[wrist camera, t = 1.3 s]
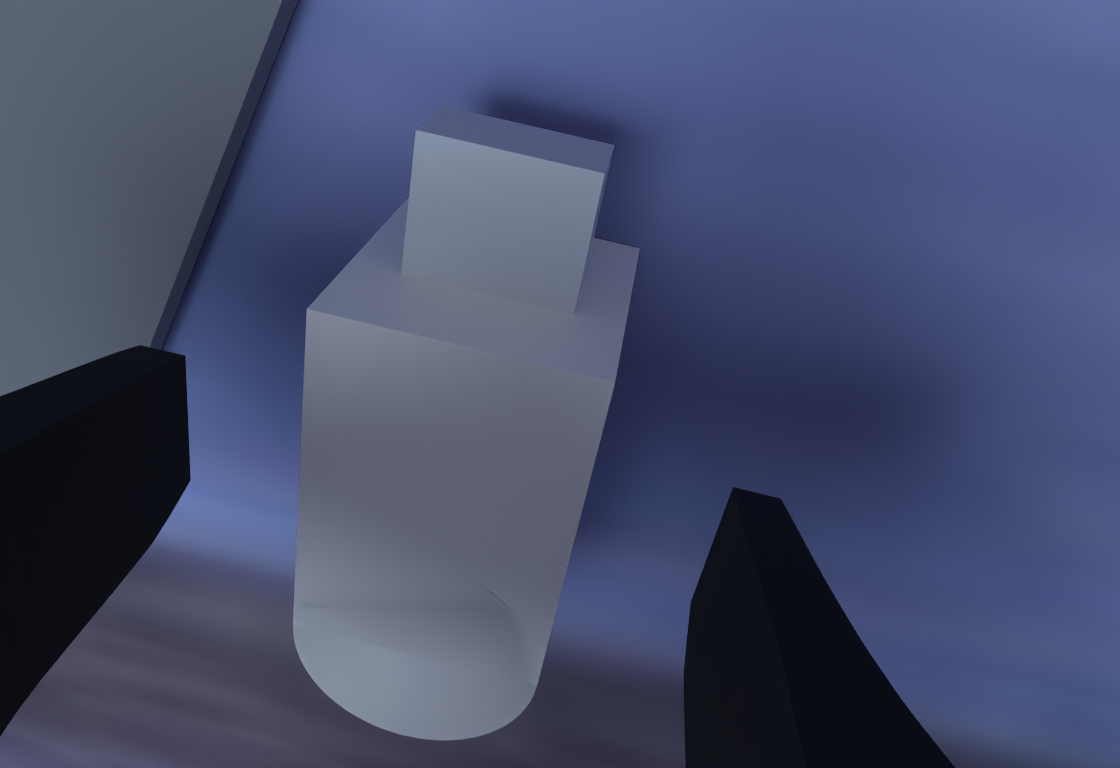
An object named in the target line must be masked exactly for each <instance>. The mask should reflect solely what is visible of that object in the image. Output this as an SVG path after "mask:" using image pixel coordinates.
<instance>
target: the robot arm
mask: <svg viewBox="0 0 1120 768" xmlns="http://www.w3.org/2000/svg"><path fill="white" fill-rule="evenodd" d="M189 482H190V457H189V433H188V410H187V386H186V362H185V356H184V355H180V354H175V353H171V352H167V351H163V350H159V349H155V348H150V347H146V346H142V345H138V346H135V347H132V348H128V349H125V350H122V351H119V352H116V353H113V354H110V355H108V356H105V357H102V358H99V359H97V360H94V361H91V362H89V363H86V364H83V365H81V366H78V367H75V368H73V369H70V370H68V371H65V372H62V373H60V374H57V375H55V376H52V377H50V378H47V379H44V380H42V381H39V382H36V383H34V384H31V385H29V386H26V387H23V388H21V389H18V390H15V391H13V392H10V393H8V394H5V395H2V396H0V736H1V735H2V733H3V732H4V730H5V729H6V727H7V726H8V724H9V723H10V721H11V720H12V718H13V717H14V715H15V714H16V712H17V711H18V709H19V708H20V707H21V705H22V704H23V703H24V701H25V700H26V699H27V697H28V696H29V695H30V694H31V692H32V691H33V690H34V688H35V687H36V686H37V684H38V683H39V682H40V680H41V679H42V678H43V677H44V675H45V674H46V673H47V672H48V670H49V669H50V668H51V667H52V666H53V664H54V663H55V662H56V661H57V660H58V658H59V657H60V656H61V655H62V653H63V652H64V651H65V650H66V649H67V647H68V646H69V645H70V644H71V643H72V641H73V640H74V639H75V638H76V636H77V635H78V634H79V633H80V632H81V630H82V629H83V628H84V627H85V626H86V624H87V623H88V622H89V621H90V619H91V618H92V617H93V616H94V615H95V613H96V612H97V611H98V610H99V609H100V607H101V606H102V605H103V604H104V603H105V601H106V600H107V599H108V598H109V596H110V595H111V594H112V593H113V592H114V590H115V589H116V588H117V587H118V585H119V584H120V583H121V582H122V580H123V579H124V578H125V577H126V576H127V574H128V573H129V572H130V571H131V569H132V568H133V567H134V566H135V564H136V563H137V562H138V561H139V559H140V558H141V557H142V556H143V554H144V553H145V552H146V551H147V549H148V548H149V547H150V545H151V544H152V543H153V541H154V540H155V538H156V537H157V535H158V533H159V532H160V530H161V529H162V527H163V525H164V524H165V522H166V521H167V519H168V518H169V516H170V514H171V513H172V511H173V509H174V508H175V506H176V504H177V502H178V501H179V499H180V497H181V496H182V494H183V492H184V490H185V489H186V487H187V485H188V484H189ZM684 716H685V757H686V768H955V767H954V766H953V765H952V763H951V762H950V761H949V760H948V758H947V757H946V756H945V755H944V753H943V752H942V751H941V750H940V748H939V747H938V746H937V745H936V743H935V742H934V741H933V740H932V738H931V737H930V736H929V735H928V733H927V732H926V731H925V730H924V728H923V727H922V726H921V725H920V723H919V722H918V721H917V720H916V718H915V717H914V715H913V714H912V713H911V711H910V710H909V709H908V707H907V706H906V705H905V703H904V702H903V701H902V699H901V698H900V697H899V695H898V694H897V692H896V691H895V690H894V688H893V687H892V685H891V684H890V682H889V681H888V679H887V678H886V676H885V675H884V674H883V672H882V671H881V669H880V668H879V666H878V665H877V663H876V662H875V660H874V659H873V658H872V656H871V655H870V653H869V652H868V650H867V648H866V647H865V645H864V644H863V642H862V641H861V639H860V638H859V636H858V634H857V633H856V631H855V629H854V628H853V626H852V624H851V623H850V621H849V619H848V618H847V616H846V614H845V613H844V611H843V609H842V608H841V606H840V604H839V603H838V601H837V599H836V598H835V596H834V594H833V593H832V591H831V589H830V587H829V586H828V584H827V582H826V580H825V579H824V577H823V575H822V573H821V571H820V570H819V568H818V566H817V564H816V562H815V561H814V559H813V557H812V555H811V553H810V552H809V550H808V548H807V546H806V544H805V542H804V540H803V539H802V537H801V535H800V533H799V531H798V529H797V527H796V525H795V524H794V522H793V520H792V518H791V516H790V514H789V513H788V511H787V509H786V507H785V505H784V504H783V502H782V500H781V499H780V498H776V497H772V496H767V495H763V494H759V493H755V492H751V491H747V490H742V489H738V488H734V487H733V489H732V492H731V495H730V497H729V500H728V503H727V505H726V508H725V511H724V514H723V516H722V519H721V522H720V524H719V527H718V530H717V533H716V535H715V538H714V541H713V544H712V546H711V549H710V552H709V554H708V557H707V560H706V563H705V565H704V568H703V571H702V573H701V576H700V579H699V582H698V584H697V587H696V590H695V592H694V595H693V598H692V601H691V606H690V615H689V625H688V634H687V644H686V655H685V666H684Z"/></svg>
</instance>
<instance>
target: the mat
mask: <svg viewBox="0 0 1120 768" xmlns="http://www.w3.org/2000/svg"><path fill="white" fill-rule="evenodd" d="M297 2H298V0H0V396H2V395H5V394H8V393H10V392H13V391H15V390H18V389H21V388H23V387H26V386H29V385H31V384H34V383H36V382H39V381H42V380H44V379H47V378H50V377H52V376H55V375H57V374H60V373H62V372H65V371H68V370H70V369H73V368H75V367H78V366H81V365H83V364H86V363H89V362H91V361H94V360H97V359H99V358H102V357H105V356H108V355H110V354H113V353H116V352H119V351H122V350H125V349H128V348H132V347H135V346H138V345H142V346H146V347H150V348H155V349H159V350H161V349H162V346H163V343H164V341H165V338H166V336H167V333H168V331H169V328H170V326H171V323H172V321H173V318H174V315H175V313H176V310H177V308H178V305H179V303H180V300H181V298H182V295H183V292H184V290H185V287H186V285H187V282H188V280H189V277H190V275H191V272H192V270H193V267H194V264H195V262H196V259H197V257H198V254H199V252H200V249H201V247H202V244H203V242H204V239H205V236H206V234H207V231H208V229H209V226H210V224H211V221H212V219H213V216H214V213H215V211H216V208H217V206H218V203H219V201H220V198H221V196H222V193H223V191H224V188H225V185H226V183H227V180H228V178H229V175H230V173H231V170H232V168H233V165H234V163H235V160H236V157H237V155H238V152H239V150H240V147H241V145H242V142H243V140H244V137H245V134H246V132H247V129H248V127H249V124H250V122H251V119H252V117H253V114H254V112H255V109H256V106H257V104H258V101H259V99H260V96H261V94H262V91H263V89H264V86H265V84H266V81H267V78H268V76H269V73H270V71H271V68H272V66H273V63H274V61H275V58H276V55H277V53H278V50H279V48H280V45H281V43H282V40H283V38H284V35H285V33H286V30H287V27H288V25H289V22H290V20H291V17H292V15H293V12H294V10H295V7H296V5H297Z"/></svg>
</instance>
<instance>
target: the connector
mask: <svg viewBox="0 0 1120 768" xmlns="http://www.w3.org/2000/svg"><path fill="white" fill-rule="evenodd" d="M613 150H614V145H612V144H608V143H603V142H599V141H595V140H590V139H586V138H582V137H577V136H573V135H569V134H564V133H560V132H556V131H551V130H547V129H542V128H538V127H534V126H529V125H525V124H521V123H516V122H512V121H508V120H503V119H499V118H495V117H490V116H486V115H482V114H477V113H473V112H469V111H464V110H460V109H456V108H451V107H447V106H442V107H441V108H440V109H438V110H437V111H436V112H435V113H434V114H433V115H432V116H431V117H430V118H428V119H427V120H426V121H425V122H424V123H423V124H422V125H421V126H420V127H418V128H417V129H416V133H415V143H414V152H413V162H412V172H411V181H410V191H409V197H408V198H407V199H406V200H405V201H404V203H403V204H402V205H401V206H400V207H399V208H398V209H397V210H396V211H395V212H394V214H393V215H392V216H391V217H390V218H389V219H388V220H387V221H386V222H385V223H384V225H383V226H382V227H381V228H380V229H379V230H378V231H377V232H376V233H375V234H374V236H373V237H372V238H371V239H370V240H369V241H368V242H367V243H366V244H365V245H364V247H363V248H362V249H361V250H360V251H359V252H358V253H357V254H356V255H355V256H354V258H353V259H352V260H351V261H350V262H349V263H348V264H347V265H346V266H345V267H344V269H343V270H342V271H341V272H340V273H339V274H338V275H337V276H336V277H335V278H334V280H333V281H332V282H331V283H330V284H329V285H328V286H327V287H326V288H325V289H324V291H323V292H322V293H321V294H320V295H319V296H318V297H317V298H316V299H315V300H314V302H313V303H312V304H311V305H310V306H309V307H308V308H307V315H306V338H305V361H304V384H303V407H302V430H301V453H300V476H299V499H298V522H297V544H296V567H295V590H294V613H293V636H294V641H295V646H296V649H297V652H298V654H299V657H300V660H301V661H302V663H303V665H304V667H305V669H306V671H307V672H308V673H309V675H310V676H311V678H312V679H313V680H314V682H315V683H316V684H317V685H318V686H319V687H320V688H321V689H322V690H323V692H324V693H326V694H327V695H328V696H329V697H330V698H331V699H332V700H333V701H335V702H336V703H337V704H339V705H340V706H341V707H343V708H344V709H345V710H347V711H348V712H350V713H352V714H353V715H355V716H357V717H358V718H360V719H362V720H364V721H366V722H368V723H370V724H372V725H374V726H377V727H380V728H382V729H385V730H387V731H390V732H394V733H397V734H401V735H405V736H409V737H414V738H420V739H428V740H461V739H467V738H473V737H478V736H481V735H485V734H488V733H491V732H493V731H495V730H498V729H500V728H502V727H503V726H505V725H507V724H508V723H510V722H511V721H513V720H514V719H515V718H516V717H518V716H519V715H520V714H521V713H522V712H523V710H524V709H525V708H526V707H527V706H528V704H529V703H530V701H531V699H532V697H533V696H534V693H535V690H536V687H537V684H538V680H539V676H540V672H541V669H542V665H543V661H544V657H545V653H546V649H547V645H548V641H549V638H550V634H551V630H552V626H553V622H554V618H555V614H556V610H557V607H558V603H559V599H560V595H561V591H562V587H563V583H564V579H565V575H566V572H567V568H568V564H569V560H570V556H571V552H572V548H573V544H574V541H575V537H576V533H577V529H578V525H579V521H580V517H581V513H582V510H583V506H584V502H585V498H586V494H587V490H588V486H589V482H590V478H591V475H592V471H593V467H594V463H595V459H596V455H597V451H598V447H599V444H600V440H601V436H602V432H603V428H604V424H605V420H606V416H607V413H608V409H609V405H610V401H611V397H612V393H613V389H614V385H615V381H616V376H617V370H618V365H619V359H620V354H621V348H622V343H623V337H624V332H625V327H626V321H627V316H628V310H629V305H630V299H631V294H632V288H633V283H634V277H635V272H636V267H637V261H638V256H639V250H640V248H636V247H632V246H628V245H623V244H619V243H615V242H610V241H606V240H602V239H598V238H594V236H595V231H596V227H597V222H598V218H599V213H600V209H601V204H602V200H603V195H604V191H605V186H606V182H607V177H608V172H609V168H610V163H611V159H612V154H613Z"/></svg>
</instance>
